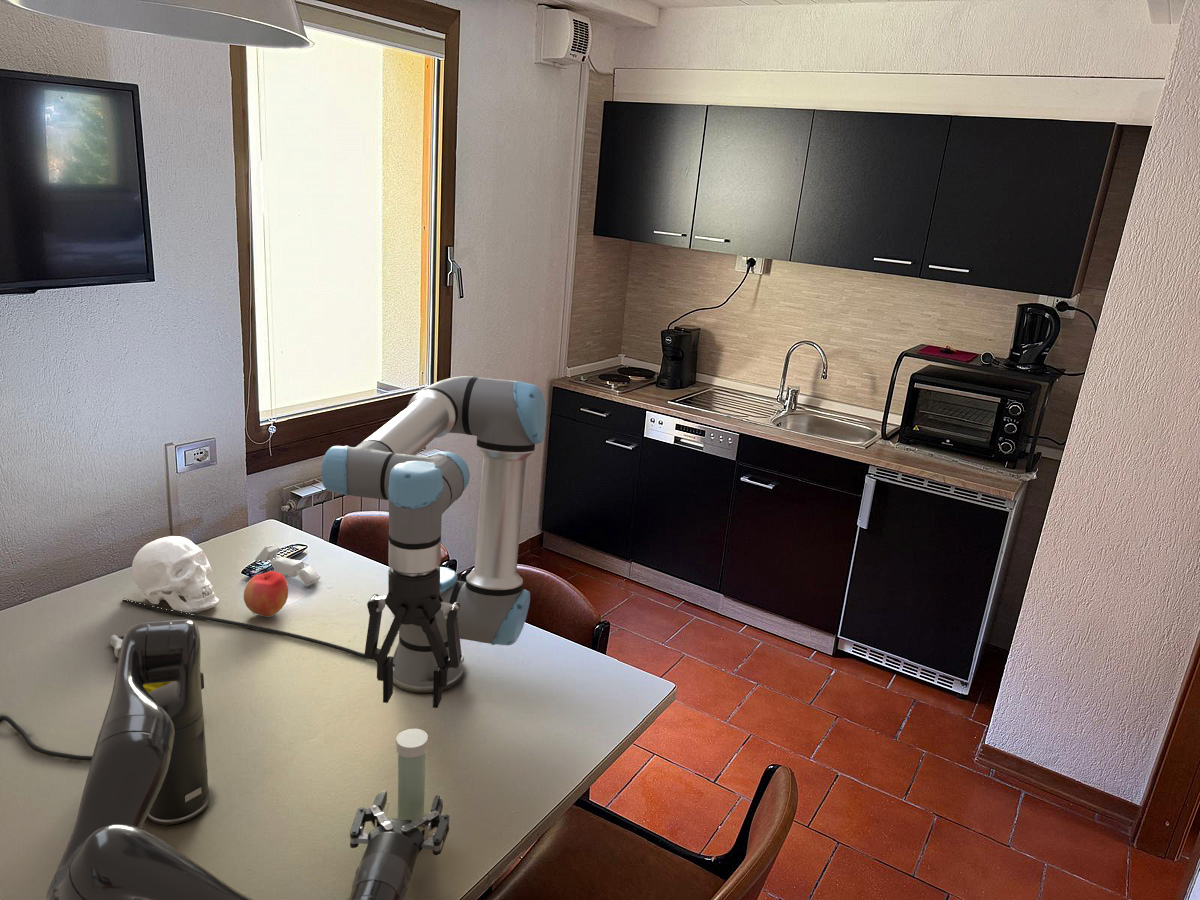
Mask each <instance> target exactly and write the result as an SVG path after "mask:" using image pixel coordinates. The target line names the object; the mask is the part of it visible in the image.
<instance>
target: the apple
mask: <svg viewBox="0 0 1200 900" xmlns="http://www.w3.org/2000/svg"><path fill="white" fill-rule="evenodd" d="M288 597H289V584H288V581H287V579H286V577H285V575H282V574H281V573H278V572H275V571H268V570H267V571H266V572H264V573H259V574H255V575H254V576H253V577H251V578H250V579H249V580H248V582H247V583H246V585H245V587H244V590H243V601H244V604H245V607H247V609H248V610H249V611H250V612H252V613H253V614H255V615H257V616H261V617H265V618H269V617H273V616H275V615H276V614H278V613H279V612H280V611H281V610H282V609H283V607H284V606H285V605H286V603H287V600H288Z"/></svg>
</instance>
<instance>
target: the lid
mask: <svg viewBox="0 0 1200 900" xmlns="http://www.w3.org/2000/svg"><path fill="white" fill-rule="evenodd" d="M395 740H396V741H395V750H396V752H397V755H398V754H399V755H401V756H403V757H407V758H414V757H418V756H421V755H422V754H424V753H425V752H426V753H427V751H428V748H429V745H428V744H429V736H428V734H427V732H426V731H424V730H423V729H419V728H408V729H404V730H402V731H400V732H399V733H398V734H397V735H396V739H395ZM426 753H425V754H426Z"/></svg>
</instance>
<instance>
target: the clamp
mask: <svg viewBox="0 0 1200 900" xmlns="http://www.w3.org/2000/svg"><path fill="white" fill-rule="evenodd" d="M280 549H281V547H279V546H278V545H277V544H272V545H266V546H264V547H263V549H262V550H261V551H260V552H259V554H258V555H257V556H256V557H255V559H254V562H255V563H256V561H259V560H262V561H268V560H271V562H270V563H269V564H271V565H272V566H273V568H274V571H275V572H278V573H281V574H282V575H283V576H288V577H292V578H296V577H298V578H299V579H300V580H301V582H303V584H304V585H305V587H309V586H312V585H314V584H316V583H318V582H319V580H320V579H321V578H322V577H321V575H320V574H319V573H318V572H317V570H315V569H314V568H313V566H312V565H310V564H309V565H308V564H307V563H305V562H304V561H303V560H301V559H300V560H299V559H292V558H289V557H285V556H278V553H279V551H280ZM273 558H274V559H273ZM272 559H273V560H272ZM305 566H306V567H305ZM270 571H271V570H270Z"/></svg>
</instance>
